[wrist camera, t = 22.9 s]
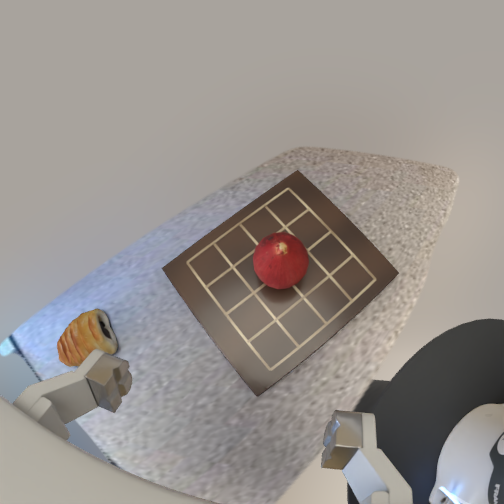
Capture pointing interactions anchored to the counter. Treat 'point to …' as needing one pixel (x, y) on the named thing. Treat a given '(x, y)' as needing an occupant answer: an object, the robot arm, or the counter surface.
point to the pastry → (86, 338)
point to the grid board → (279, 300)
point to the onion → (280, 260)
